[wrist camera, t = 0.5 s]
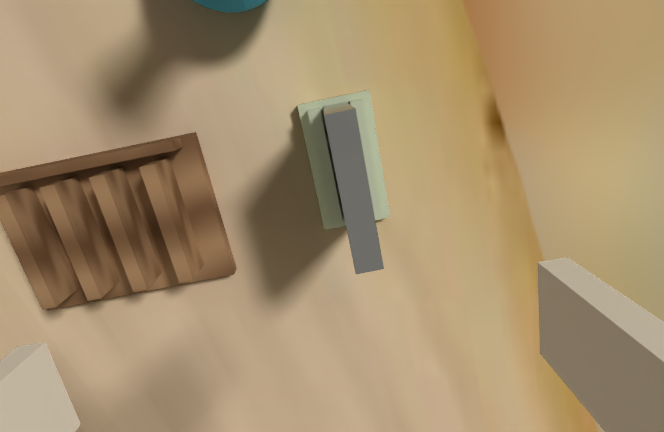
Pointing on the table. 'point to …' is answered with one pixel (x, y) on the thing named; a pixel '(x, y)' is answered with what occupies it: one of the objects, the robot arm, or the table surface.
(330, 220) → the stand
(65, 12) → the table surface
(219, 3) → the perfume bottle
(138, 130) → the table surface
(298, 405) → the table surface
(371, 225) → the thick grey slab
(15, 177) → the rack
